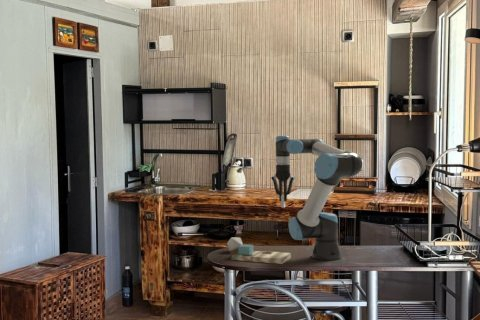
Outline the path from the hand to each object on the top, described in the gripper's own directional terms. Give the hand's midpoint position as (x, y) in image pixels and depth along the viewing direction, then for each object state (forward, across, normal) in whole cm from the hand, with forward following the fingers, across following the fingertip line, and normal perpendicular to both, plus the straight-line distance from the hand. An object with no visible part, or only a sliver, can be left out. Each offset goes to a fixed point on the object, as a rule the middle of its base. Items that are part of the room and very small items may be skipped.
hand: (283, 207), depth 294 cm
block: (+22, +14, +20) cm, 33 cm away
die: (+25, +25, +9) cm, 36 cm away
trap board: (+24, +6, +20) cm, 32 cm away
